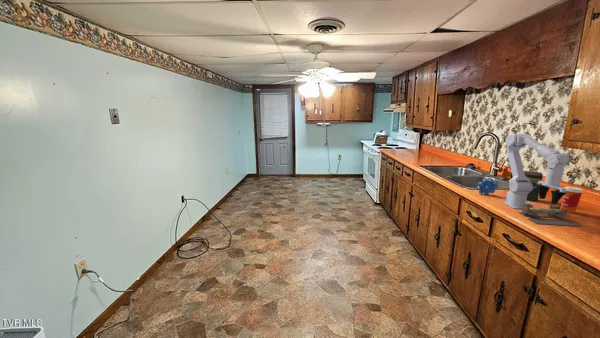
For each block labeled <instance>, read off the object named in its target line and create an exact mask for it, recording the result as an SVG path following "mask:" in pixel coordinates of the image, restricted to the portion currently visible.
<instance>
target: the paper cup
mask: <svg viewBox="0 0 600 338" xmlns="http://www.w3.org/2000/svg"><path fill="white" fill-rule="evenodd" d="M564 188H566V194H565V195H564V196H563V197H562V198H561V204H560V205H561V206H560V209H566V210H567V214H575V213H576V211H577V207H578V206H579V202H580V201H581V197H582V194H583V193H584V190H583V189H582V188H579V187H573V186H564Z"/></svg>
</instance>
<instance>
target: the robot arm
mask: <svg viewBox="0 0 600 338" xmlns="http://www.w3.org/2000/svg"><path fill="white" fill-rule="evenodd" d="M504 140H505V143H506V144H505V145H506V152H507V153H506V154H507V157H508V161H509V166H510V171H511V174H512V175H511V176H512V178H510V179H509V180H508V182H509V185H508V188H509V191H507V193H506V198H505V201H504V202H503V204H504V205H507V206H509V207H510V208H512V209H517V210H518V209H519V210H523V206H524V204H527V200H526V199H527V195H528V194H529V192H531V191H532V190H533V185H532V183H531V182H530V179H529V178H527V177H526V176H525V174H524V172H525V171H524V166H523V163H522V162H523V161H522V159H521V154H520V150H521V149H523V148H524V147H525V146H528V147H530V148H532V149H534V150H536V154H537V155H539V156H540V157H542V158H543V159H545V160H546V162H547V171H546V174H545V180H542V181H539V182H538V184H539V185H537V186H536V187H537V189H538V192H539V197H538V199H540V200H545V199H546V196H547V194H548V192H549V190H550V189H551V190H550V192H551V201H550V202H551V204H552V205H558V203H559V201H560V200H562V198H563V196H564V195H565V194H566V188H565V187H563V186H562V185H561V182H562V179H563V174H564V170H565V166H566V165H567V164H568V163H570V162H571V161H570V160H571V157H570V156H569V154H567V153H565V152H560V151H559V150H557V149H554V148H553V146H552V145H550V144H549V145H547V144H544V145H543V144H542V143H541V142H539V141H537V140H536V139H534V138H533V136H531V135H529V133H509V134H508V135H507V136H506V138H505V139H504Z"/></svg>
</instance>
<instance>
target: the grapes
mask: <svg viewBox="0 0 600 338" xmlns="http://www.w3.org/2000/svg"><path fill="white" fill-rule="evenodd" d="M498 183H499V182H498V180H494V178H491V177H490V178H488V179H487V178H483V179H482V180H481V181H479V182H478V183H477V187H476V188H475V189H476V190H477V191H478V193H479V195H480V194H481V195H482V194H484V195H485V196H487V195H489V194H494V193H495V192H496V190H497V189H499V185H498Z"/></svg>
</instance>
